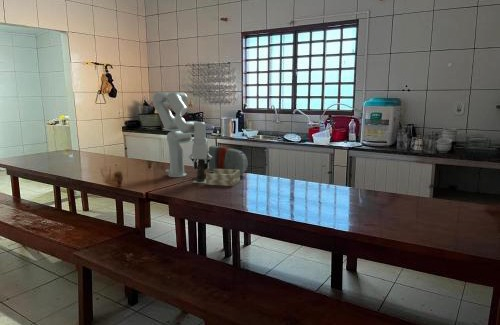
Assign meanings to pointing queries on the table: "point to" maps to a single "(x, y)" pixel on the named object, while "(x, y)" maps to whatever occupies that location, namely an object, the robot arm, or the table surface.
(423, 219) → the table surface
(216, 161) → the decorative stone tablet
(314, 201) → the table surface
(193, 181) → the mat
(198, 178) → the statue
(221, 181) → the beige woven basket
